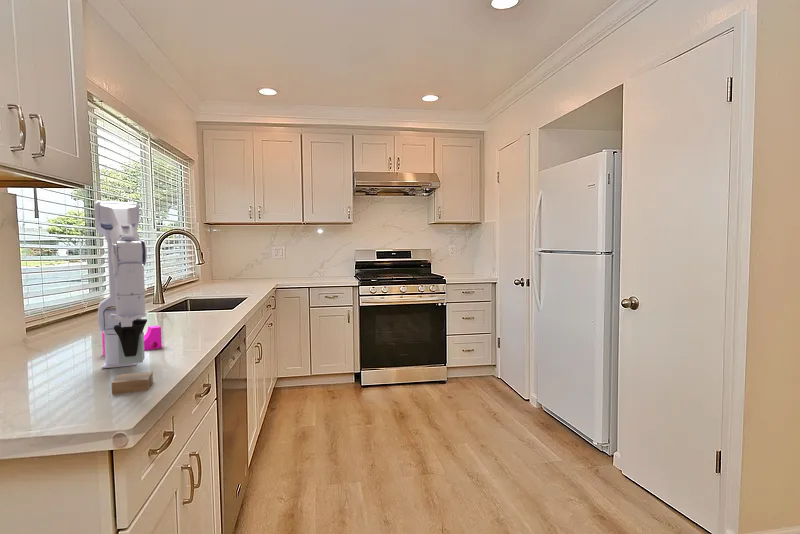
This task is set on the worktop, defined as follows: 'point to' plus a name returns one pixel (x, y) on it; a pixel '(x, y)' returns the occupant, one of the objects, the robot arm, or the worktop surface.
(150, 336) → the toy block
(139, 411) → the worktop surface
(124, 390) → the walnut plinth
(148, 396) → the worktop surface
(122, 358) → the slate block
